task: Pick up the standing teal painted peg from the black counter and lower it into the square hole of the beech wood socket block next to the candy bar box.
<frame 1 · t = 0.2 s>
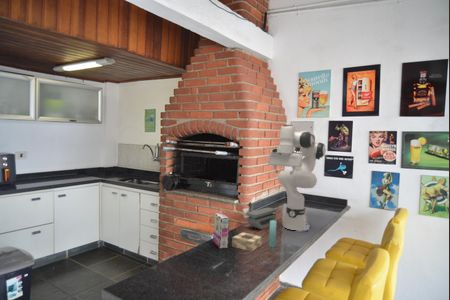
hand: (283, 173, 179), 39 cm above the counter, tool pointing down, fingers open, 8 cm apart
candy bar box: (220, 245, 163), on the counter
peg: (272, 246, 165), on the counter
socket block: (246, 246, 163), on the counter
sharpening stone: (261, 227, 201), on the counter
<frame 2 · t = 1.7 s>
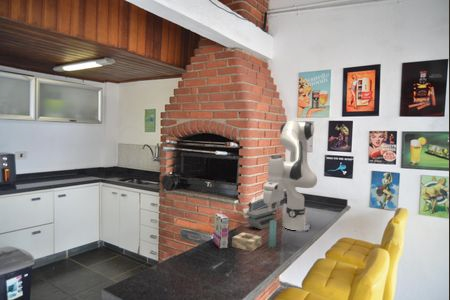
hand: (273, 209, 164), 20 cm above the counter, tool pointing down, fingers open, 8 cm apart
nothing on the counter moved.
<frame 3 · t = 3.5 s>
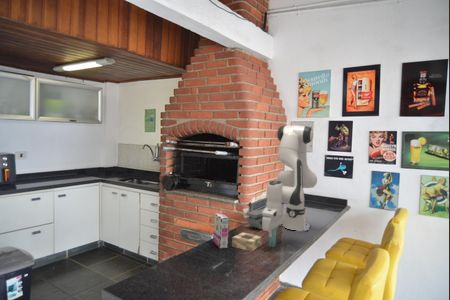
hand: (272, 235, 164), 6 cm above the counter, tool pointing down, fingers closed on peg, 4 cm apart
peg: (272, 246, 165), on the counter, touching gripper
everything else where it was.
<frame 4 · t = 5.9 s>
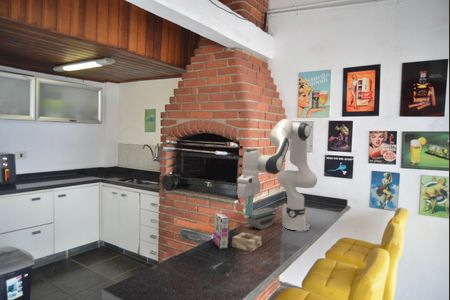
hand: (248, 203, 162), 24 cm above the counter, tool pointing down, fingers closed on peg, 4 cm apart
peg: (248, 214, 162), point 17 cm above the counter, touching gripper
everything else where it was.
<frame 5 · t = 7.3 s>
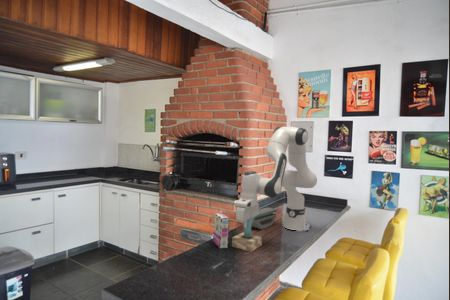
hand: (247, 226, 163), 11 cm above the counter, tool pointing down, fingers closed on peg, 4 cm apart
peg: (247, 237, 163), point 5 cm above the counter, touching gripper
everything else where it was.
when the fingers open (7 cm above the counter, at t = 8.5 s): peg stays where it is, resting in socket block.
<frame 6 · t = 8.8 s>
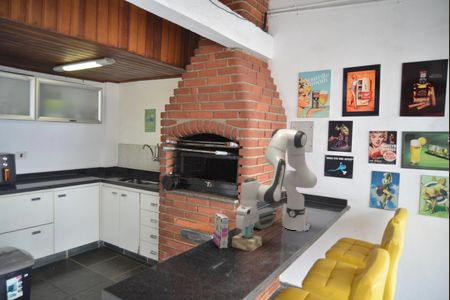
hand: (247, 233, 163), 7 cm above the counter, tool pointing down, fingers open, 7 cm apart
peg: (246, 246, 163), resting in socket block
everything else where it was.
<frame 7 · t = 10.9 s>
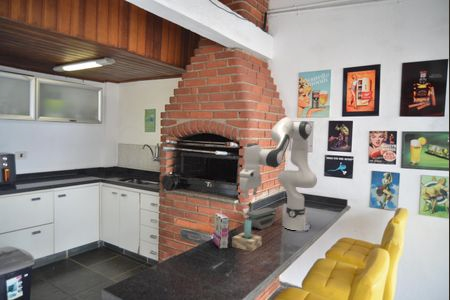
hand: (250, 196, 168), 26 cm above the counter, tool pointing down, fingers open, 8 cm apart
nothing on the counter moved.
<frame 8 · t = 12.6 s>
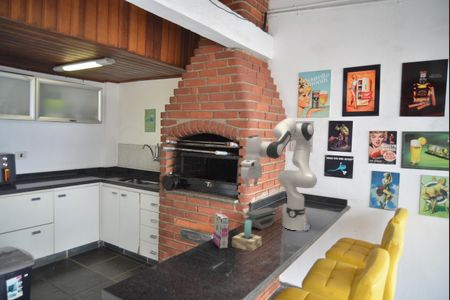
hand: (251, 186, 175), 31 cm above the counter, tool pointing down, fingers open, 8 cm apart
nothing on the counter moved.
at the end: peg 0.1 cm off-centre on the socket block, point 0.0 cm above the socket block's base; peg tilted 0°; the gripper is holding nothing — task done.
